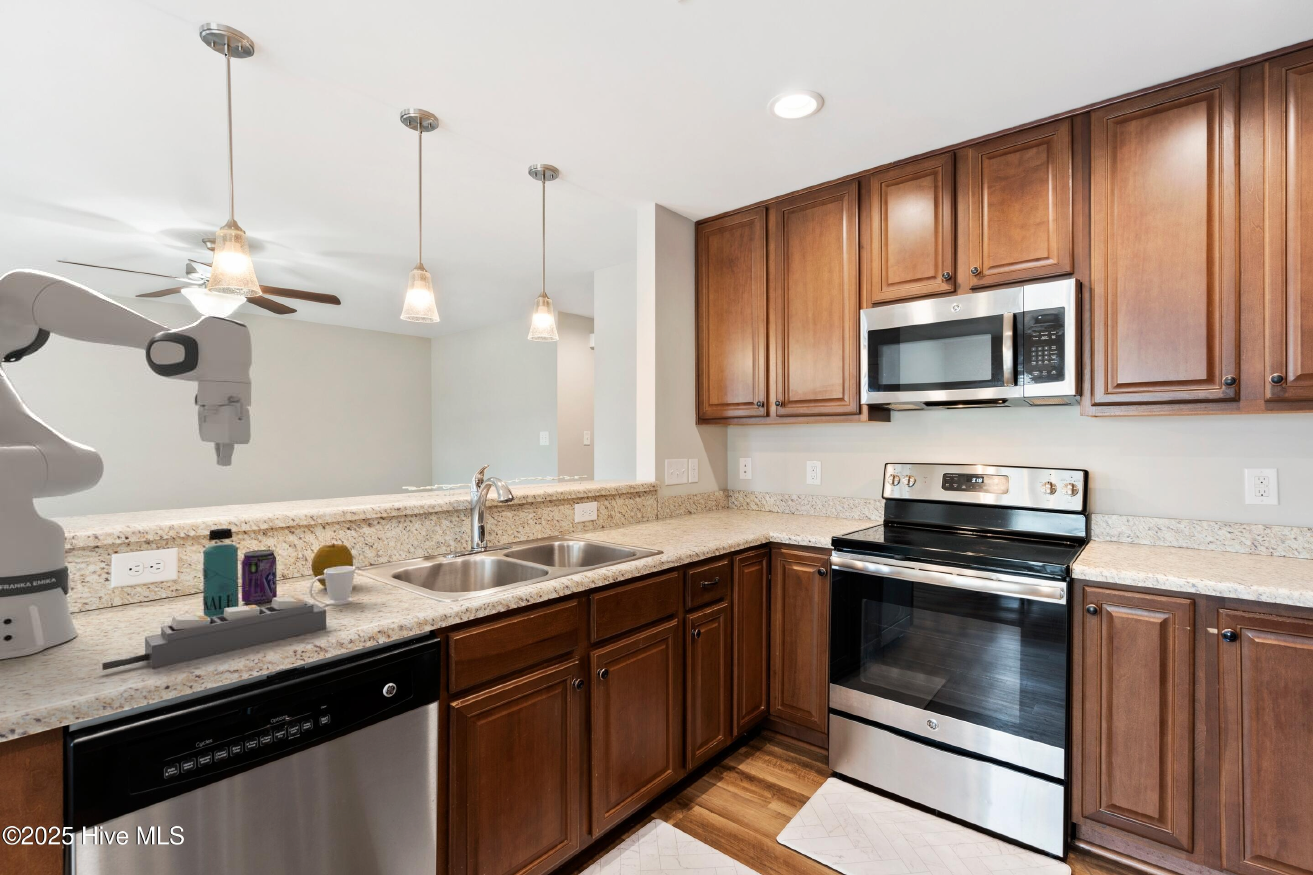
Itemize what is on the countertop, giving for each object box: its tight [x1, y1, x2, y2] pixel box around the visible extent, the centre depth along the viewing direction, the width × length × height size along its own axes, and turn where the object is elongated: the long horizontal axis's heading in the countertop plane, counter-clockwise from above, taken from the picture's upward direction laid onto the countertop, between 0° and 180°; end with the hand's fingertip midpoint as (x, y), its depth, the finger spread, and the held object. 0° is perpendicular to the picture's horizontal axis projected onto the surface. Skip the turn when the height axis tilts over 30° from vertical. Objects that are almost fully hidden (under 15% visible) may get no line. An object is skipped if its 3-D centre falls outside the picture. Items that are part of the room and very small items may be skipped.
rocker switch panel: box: [101, 599, 327, 671], centre depth 115 cm, size 34×7×5 cm, turn 138°
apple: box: [310, 542, 354, 588], centre depth 159 cm, size 10×10×12 cm
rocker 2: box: [224, 604, 261, 620], centre depth 117 cm, size 5×4×2 cm
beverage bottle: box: [202, 527, 240, 618], centre depth 131 cm, size 6×7×20 cm
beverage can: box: [240, 549, 278, 605], centre depth 146 cm, size 7×7×12 cm
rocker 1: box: [170, 615, 211, 629], centre depth 111 cm, size 5×4×2 cm
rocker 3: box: [270, 597, 307, 609], centre depth 123 cm, size 5×4×2 cm
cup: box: [308, 566, 356, 606], centre depth 143 cm, size 7×10×8 cm
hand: (223, 465), depth 122 cm, fingers closed
